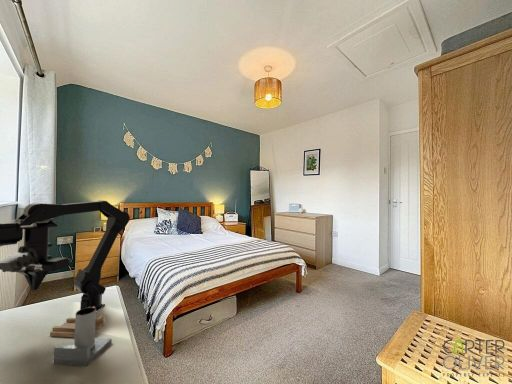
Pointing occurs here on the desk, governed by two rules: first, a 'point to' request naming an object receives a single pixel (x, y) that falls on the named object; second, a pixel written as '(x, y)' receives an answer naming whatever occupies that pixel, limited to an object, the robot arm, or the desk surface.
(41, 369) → the desk surface
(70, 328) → the brown wooden tray
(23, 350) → the desk surface
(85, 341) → the planter
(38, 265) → the robot arm
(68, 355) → the press bed
